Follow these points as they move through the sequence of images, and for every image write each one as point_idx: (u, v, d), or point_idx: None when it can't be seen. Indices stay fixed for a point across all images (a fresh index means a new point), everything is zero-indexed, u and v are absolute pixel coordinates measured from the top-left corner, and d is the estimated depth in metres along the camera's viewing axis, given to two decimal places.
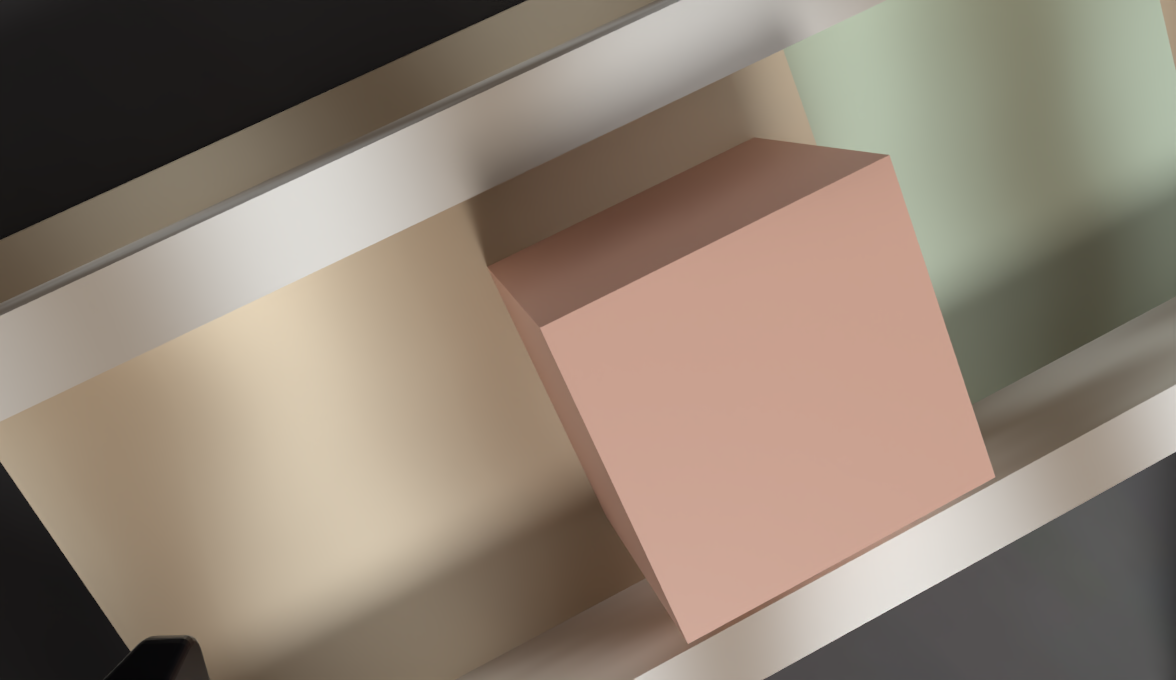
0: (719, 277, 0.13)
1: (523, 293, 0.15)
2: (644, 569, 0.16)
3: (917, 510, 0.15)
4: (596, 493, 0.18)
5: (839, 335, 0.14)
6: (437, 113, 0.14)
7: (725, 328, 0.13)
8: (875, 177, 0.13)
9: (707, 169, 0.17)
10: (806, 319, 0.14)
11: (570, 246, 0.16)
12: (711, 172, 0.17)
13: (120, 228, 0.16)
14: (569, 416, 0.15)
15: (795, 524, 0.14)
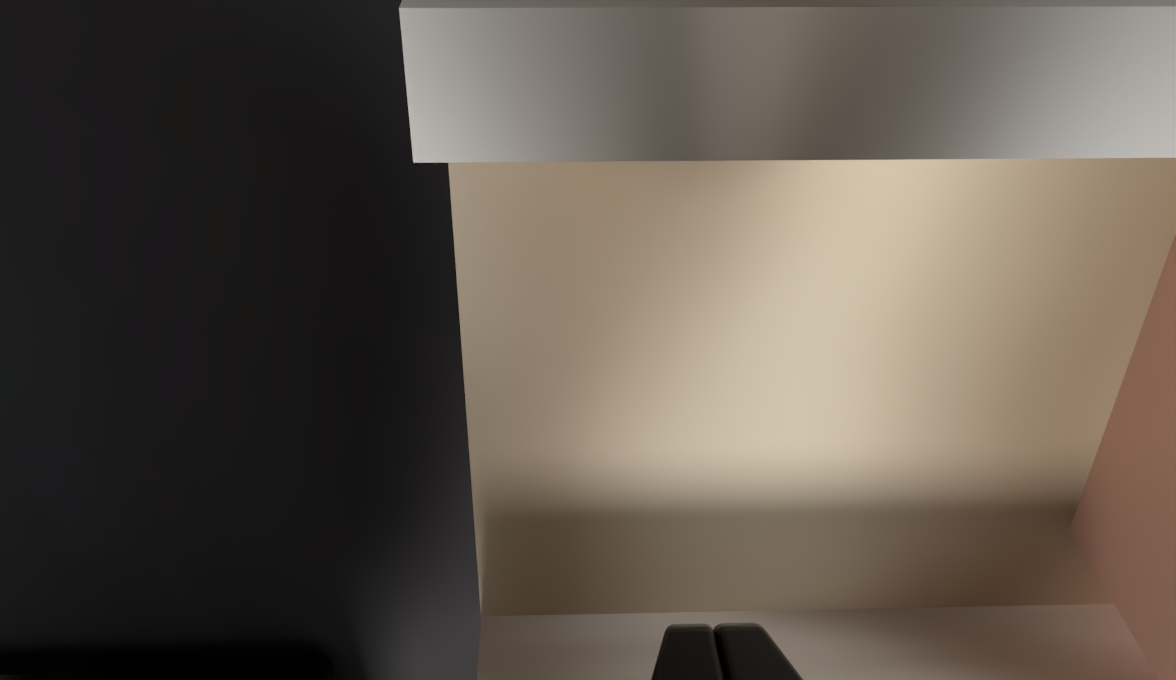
0: None
1: None
2: None
3: None
4: (1092, 509, 0.13)
5: None
6: None
7: None
8: None
9: None
10: None
11: None
12: None
13: None
14: None
15: None
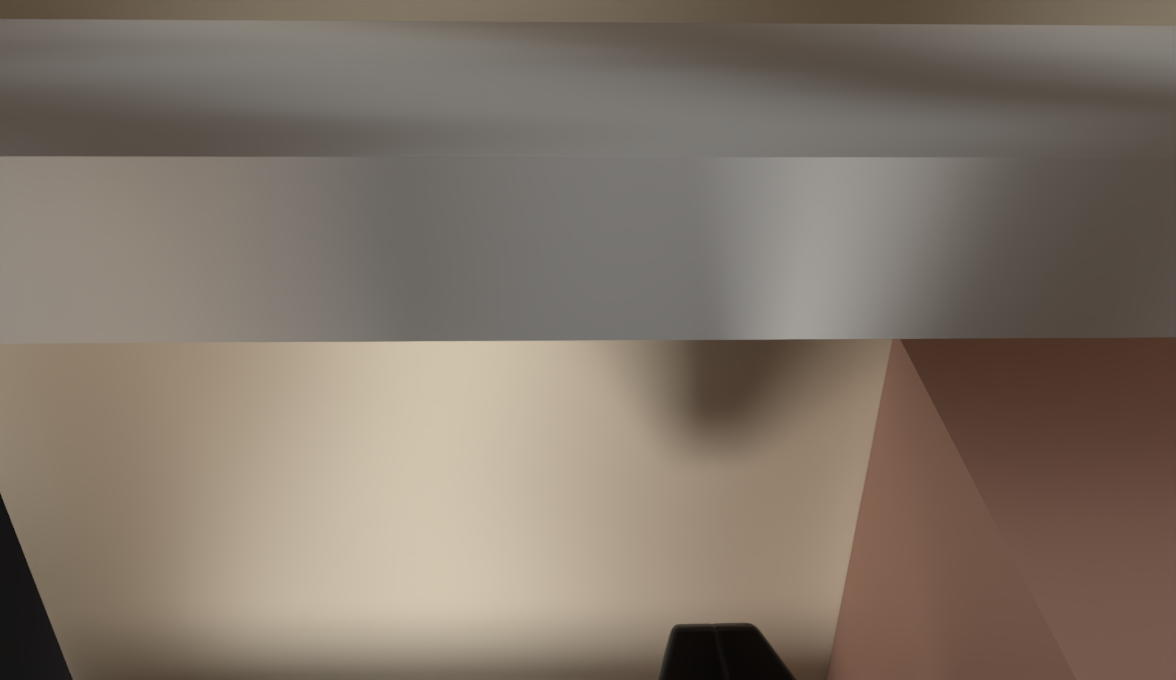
0: None
1: (1021, 532, 0.07)
2: None
3: None
4: (838, 677, 0.12)
5: None
6: (1051, 153, 0.06)
7: None
8: None
9: None
10: None
11: (1089, 413, 0.08)
12: None
13: None
14: None
15: None
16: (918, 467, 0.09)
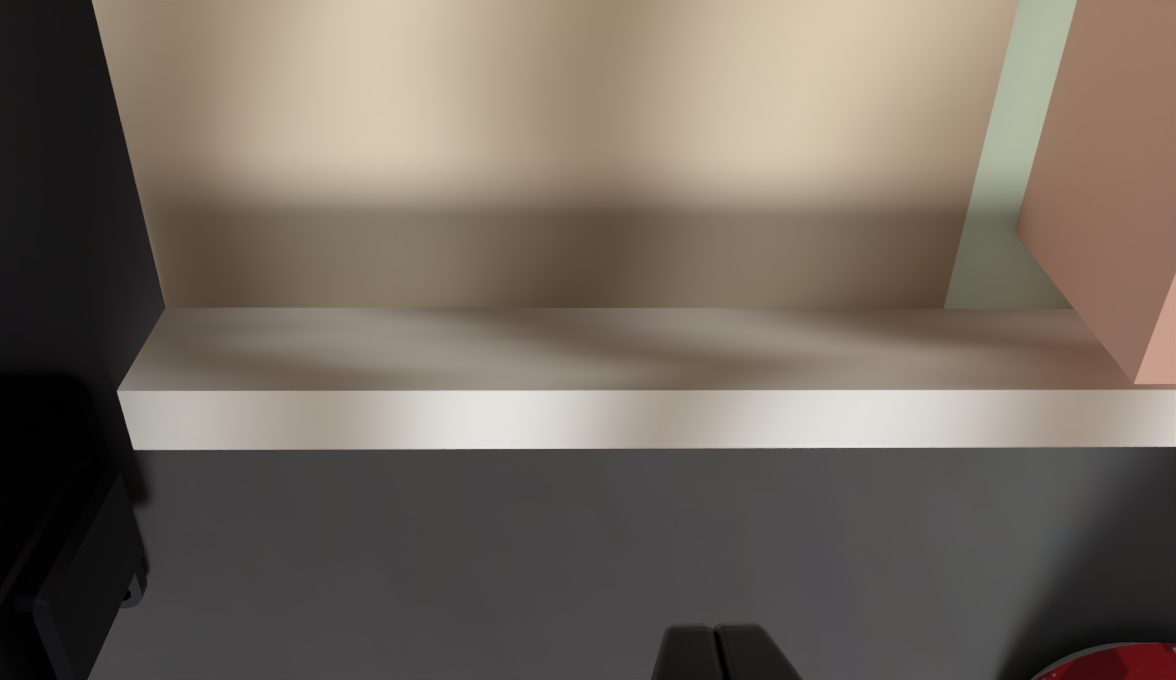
0: None
1: None
2: (1097, 299, 0.15)
3: None
4: (1030, 207, 0.18)
5: None
6: None
7: None
8: None
9: None
10: None
11: None
12: None
13: None
14: (1133, 124, 0.14)
15: None
16: None
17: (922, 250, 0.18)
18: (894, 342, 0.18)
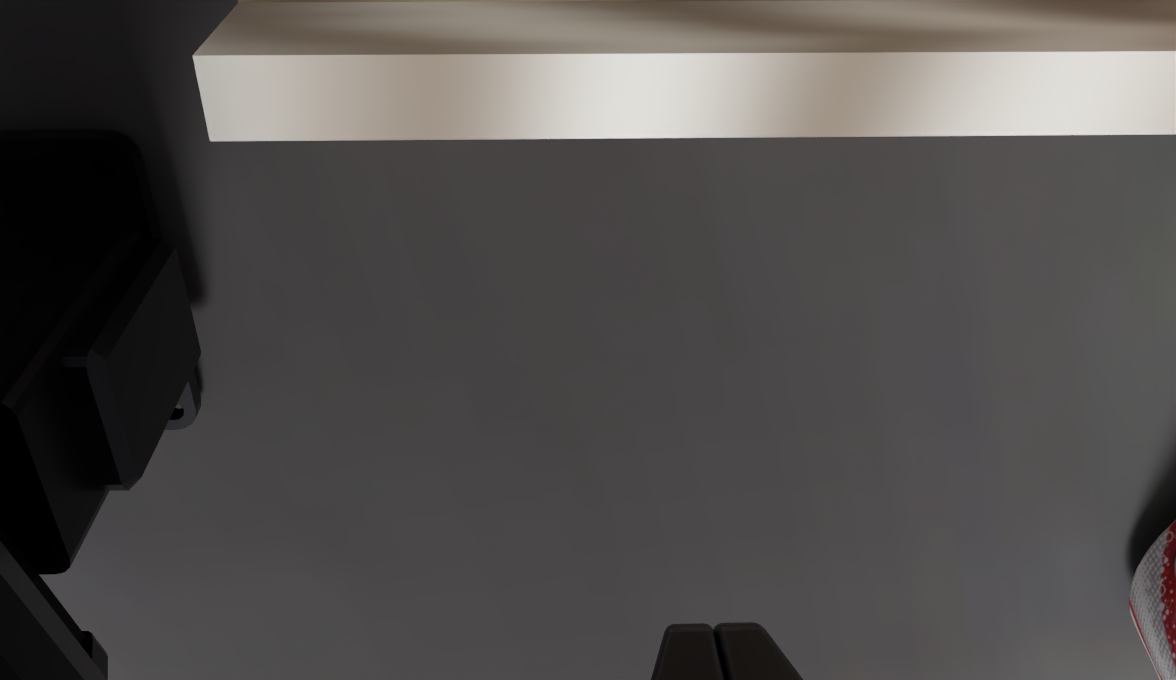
0: None
1: None
2: None
3: None
4: None
5: None
6: None
7: None
8: None
9: None
10: None
11: None
12: None
13: None
14: None
15: None
16: None
17: None
18: (1100, 21, 0.15)
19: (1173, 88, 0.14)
